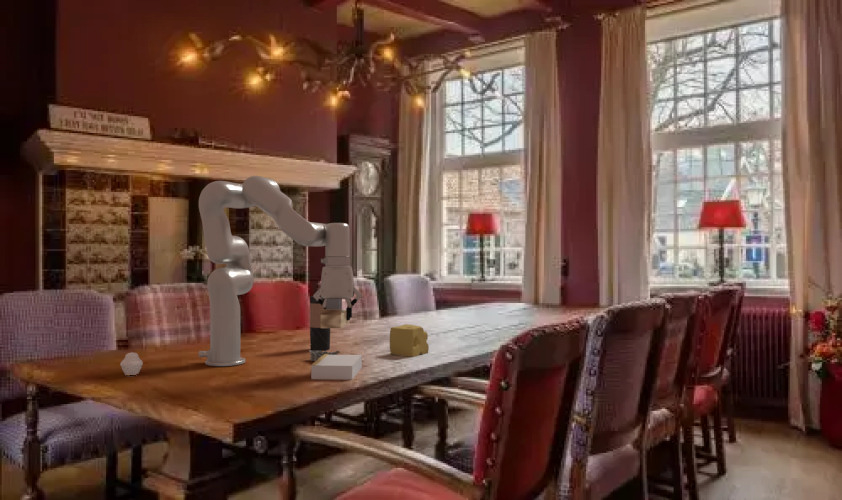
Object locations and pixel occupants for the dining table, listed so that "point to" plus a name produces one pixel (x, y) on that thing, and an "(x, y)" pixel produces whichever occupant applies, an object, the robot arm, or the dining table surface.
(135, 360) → the grey faceted stone
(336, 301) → the blue-grey cube
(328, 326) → the wooden block
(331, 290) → the robot arm
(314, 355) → the egg carton
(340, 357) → the block
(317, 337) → the travel mug
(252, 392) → the dining table surface
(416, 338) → the cheese
